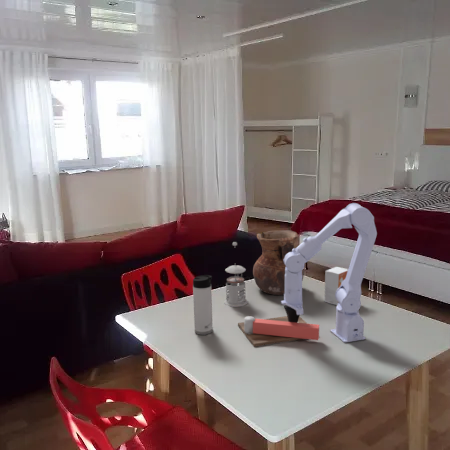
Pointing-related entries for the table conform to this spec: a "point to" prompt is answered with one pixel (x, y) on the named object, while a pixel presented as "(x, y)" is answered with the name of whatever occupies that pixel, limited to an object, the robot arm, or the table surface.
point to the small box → (333, 283)
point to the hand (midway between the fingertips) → (292, 326)
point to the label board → (268, 339)
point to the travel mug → (202, 304)
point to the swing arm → (281, 328)
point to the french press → (235, 286)
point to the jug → (273, 260)
